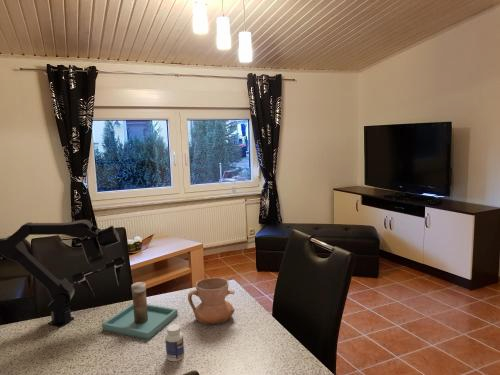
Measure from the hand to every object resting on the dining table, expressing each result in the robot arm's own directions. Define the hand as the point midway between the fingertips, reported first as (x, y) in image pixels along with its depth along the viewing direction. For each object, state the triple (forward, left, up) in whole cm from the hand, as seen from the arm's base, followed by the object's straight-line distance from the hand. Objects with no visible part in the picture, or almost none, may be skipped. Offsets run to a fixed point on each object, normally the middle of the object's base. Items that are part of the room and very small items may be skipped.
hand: (107, 291), depth 133 cm
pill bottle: (+36, -11, -12) cm, 40 cm away
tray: (+12, +3, -12) cm, 17 cm away
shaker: (+12, +3, -11) cm, 17 cm away
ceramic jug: (+36, +14, -12) cm, 41 cm away
